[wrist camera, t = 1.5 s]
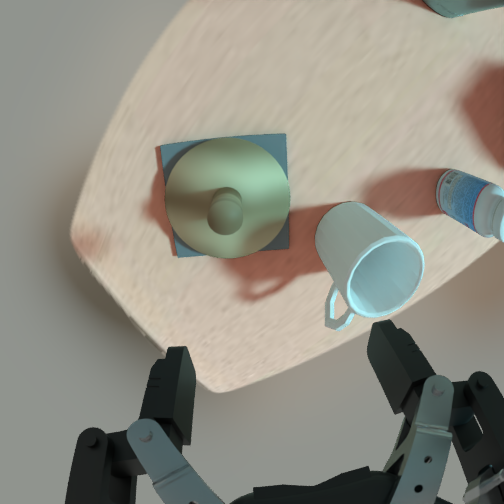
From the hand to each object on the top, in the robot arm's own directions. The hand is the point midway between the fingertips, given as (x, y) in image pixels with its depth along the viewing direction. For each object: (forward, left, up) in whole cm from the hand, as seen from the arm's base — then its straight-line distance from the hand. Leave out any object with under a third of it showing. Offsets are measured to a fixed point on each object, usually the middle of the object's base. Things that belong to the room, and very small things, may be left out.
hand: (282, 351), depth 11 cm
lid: (-2, -3, -19) cm, 19 cm away
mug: (+5, +9, -19) cm, 22 cm away
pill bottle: (-2, +25, -19) cm, 32 cm away
